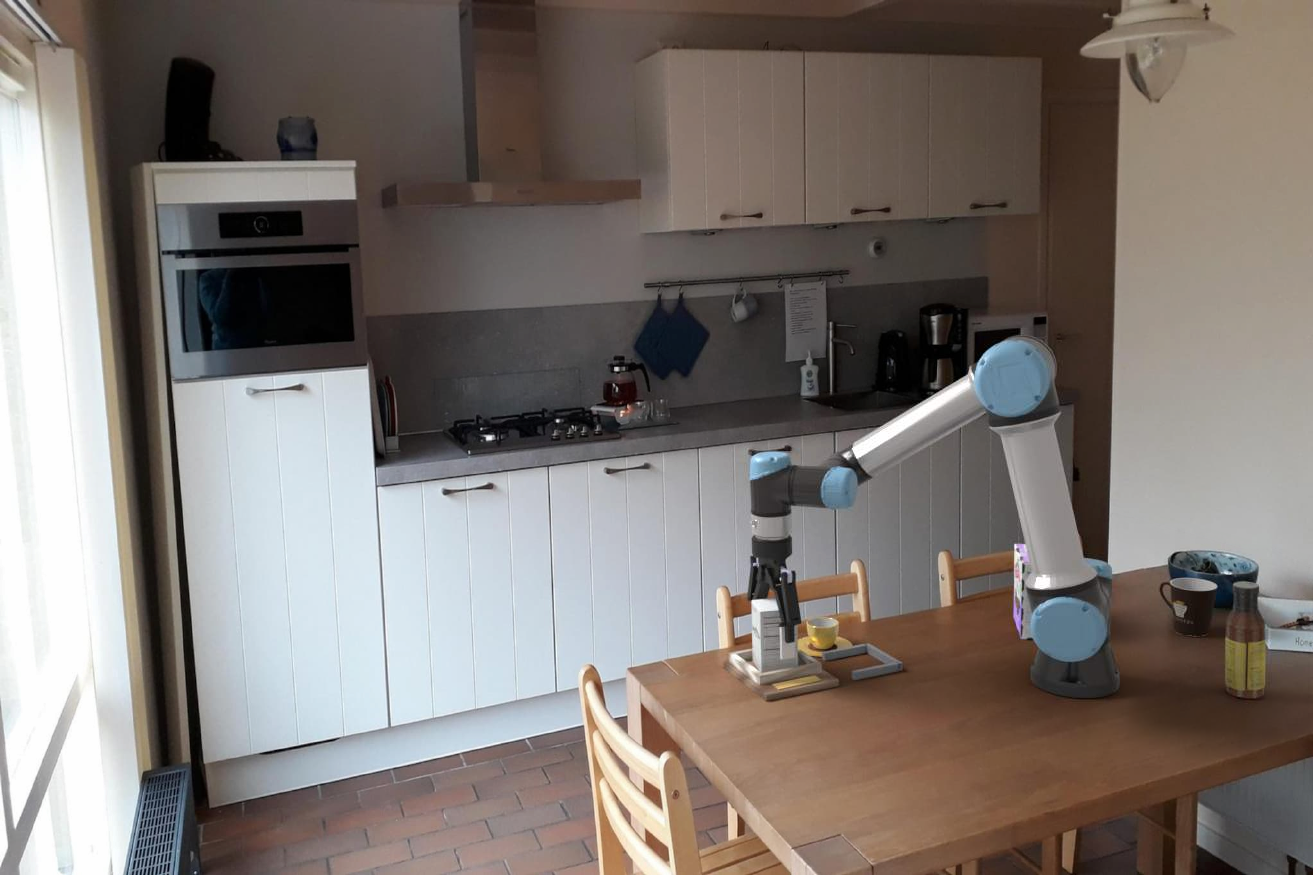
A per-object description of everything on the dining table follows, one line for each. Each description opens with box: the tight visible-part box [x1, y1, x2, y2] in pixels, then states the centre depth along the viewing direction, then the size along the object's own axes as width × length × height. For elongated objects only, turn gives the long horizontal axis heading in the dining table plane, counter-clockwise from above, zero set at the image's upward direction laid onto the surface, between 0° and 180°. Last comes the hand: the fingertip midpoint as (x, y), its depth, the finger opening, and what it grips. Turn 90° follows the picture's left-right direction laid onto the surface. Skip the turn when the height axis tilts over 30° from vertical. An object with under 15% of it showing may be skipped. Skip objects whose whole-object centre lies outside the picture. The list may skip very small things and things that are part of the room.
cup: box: [798, 616, 854, 658], centre depth 228 cm, size 12×12×5 cm
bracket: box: [821, 642, 904, 681], centre depth 217 cm, size 12×10×2 cm
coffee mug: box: [1158, 577, 1218, 636], centre depth 229 cm, size 12×9×10 cm
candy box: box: [1013, 543, 1033, 640], centre depth 232 cm, size 14×6×16 cm, turn 169°
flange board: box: [722, 648, 840, 702], centre depth 213 cm, size 18×15×3 cm
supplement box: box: [750, 597, 799, 673], centre depth 214 cm, size 7×7×13 cm
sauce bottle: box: [1224, 580, 1267, 700], centre depth 196 cm, size 7×6×20 cm
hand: (774, 648), depth 214 cm, fingers open, 10 cm apart
